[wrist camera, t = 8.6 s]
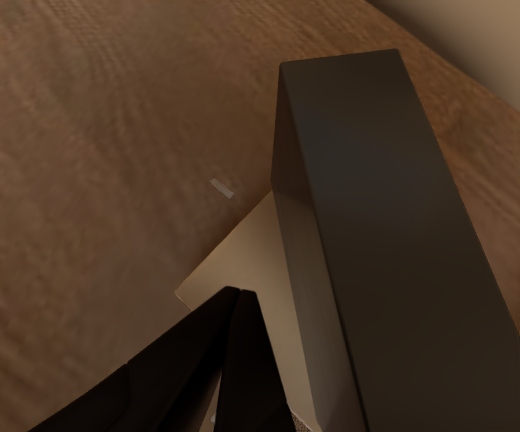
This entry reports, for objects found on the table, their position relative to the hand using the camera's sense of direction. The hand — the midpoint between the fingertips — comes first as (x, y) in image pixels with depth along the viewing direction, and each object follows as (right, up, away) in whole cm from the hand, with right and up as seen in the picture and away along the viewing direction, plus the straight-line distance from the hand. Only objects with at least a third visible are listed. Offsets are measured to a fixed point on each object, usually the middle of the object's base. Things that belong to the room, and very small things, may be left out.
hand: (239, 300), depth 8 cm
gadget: (+4, -1, +6) cm, 7 cm away
